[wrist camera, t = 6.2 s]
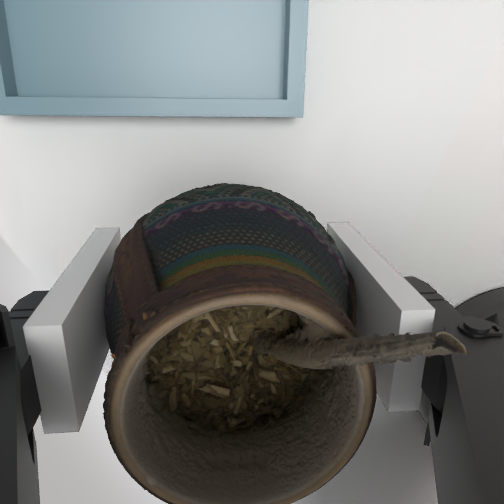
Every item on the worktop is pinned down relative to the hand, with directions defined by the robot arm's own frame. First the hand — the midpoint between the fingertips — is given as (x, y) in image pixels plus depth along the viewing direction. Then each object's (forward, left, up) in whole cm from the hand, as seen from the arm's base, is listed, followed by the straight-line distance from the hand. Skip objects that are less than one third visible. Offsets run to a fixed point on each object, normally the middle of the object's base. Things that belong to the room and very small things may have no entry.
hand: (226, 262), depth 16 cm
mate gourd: (0, 0, 0) cm, 0 cm away
